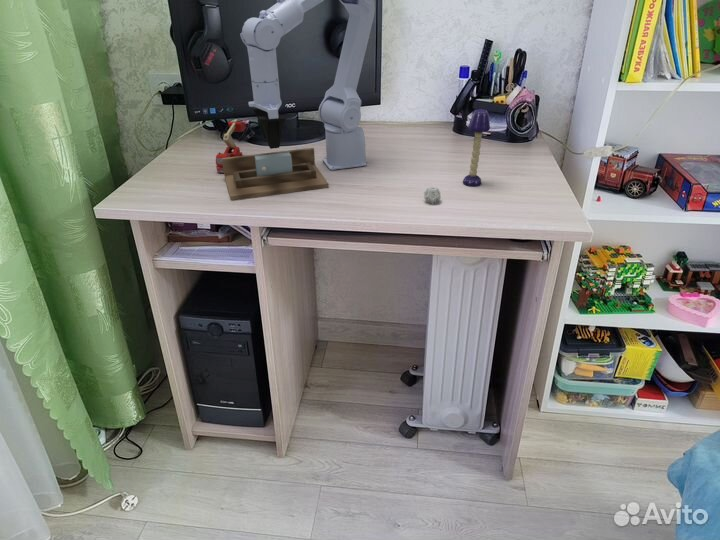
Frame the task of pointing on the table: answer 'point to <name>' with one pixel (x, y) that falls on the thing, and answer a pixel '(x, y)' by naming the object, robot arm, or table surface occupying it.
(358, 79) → the robot arm
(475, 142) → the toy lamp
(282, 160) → the grey-blue rectangular block
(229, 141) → the toy fire truck
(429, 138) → the table surface
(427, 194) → the game die
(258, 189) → the track base
